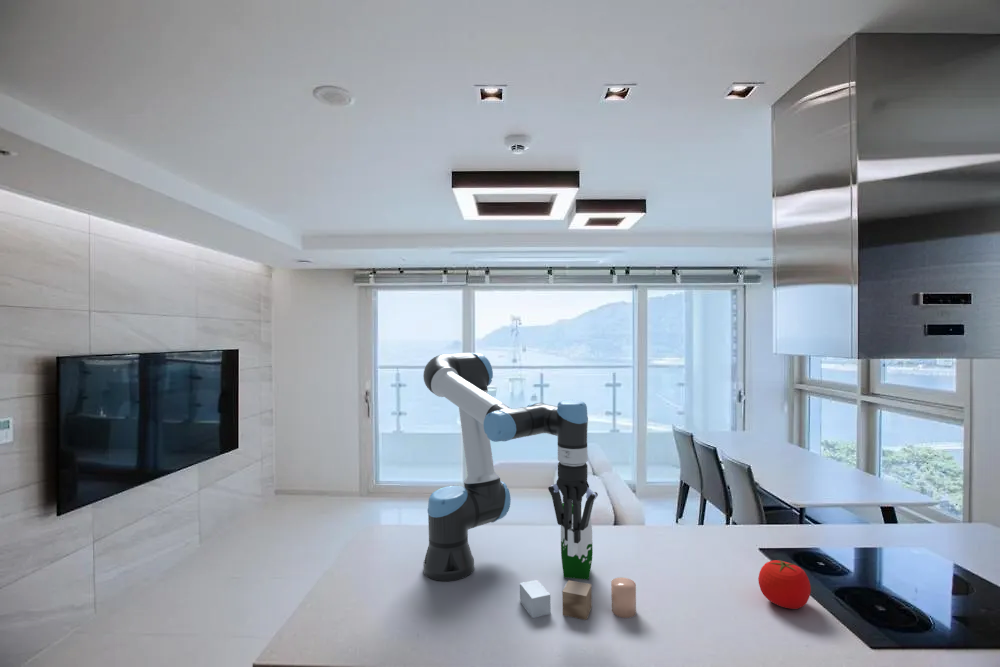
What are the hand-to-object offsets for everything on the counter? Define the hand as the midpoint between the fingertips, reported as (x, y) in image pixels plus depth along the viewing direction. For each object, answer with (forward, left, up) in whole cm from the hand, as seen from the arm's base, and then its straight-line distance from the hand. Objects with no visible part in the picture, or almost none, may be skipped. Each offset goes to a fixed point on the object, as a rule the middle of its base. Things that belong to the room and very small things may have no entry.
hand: (572, 553), depth 127 cm
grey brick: (-9, -5, -14) cm, 17 cm away
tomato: (+45, +29, -14) cm, 56 cm away
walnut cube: (+1, -1, -14) cm, 14 cm away
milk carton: (-7, +17, -14) cm, 23 cm away
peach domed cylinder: (+11, +5, -14) cm, 19 cm away
